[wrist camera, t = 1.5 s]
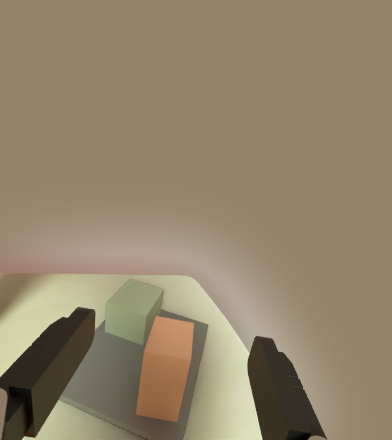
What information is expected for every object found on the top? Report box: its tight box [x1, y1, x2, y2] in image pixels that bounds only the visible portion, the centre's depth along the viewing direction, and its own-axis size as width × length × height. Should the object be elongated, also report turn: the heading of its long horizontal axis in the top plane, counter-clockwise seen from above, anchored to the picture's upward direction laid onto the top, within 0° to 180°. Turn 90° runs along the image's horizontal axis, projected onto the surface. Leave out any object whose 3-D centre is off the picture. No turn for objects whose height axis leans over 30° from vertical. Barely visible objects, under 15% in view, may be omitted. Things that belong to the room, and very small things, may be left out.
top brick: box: [136, 316, 194, 422], centre depth 24 cm, size 5×5×10 cm
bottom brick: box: [105, 279, 164, 345], centre depth 35 cm, size 7×7×6 cm
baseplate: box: [59, 310, 208, 440], centre depth 32 cm, size 18×18×1 cm
